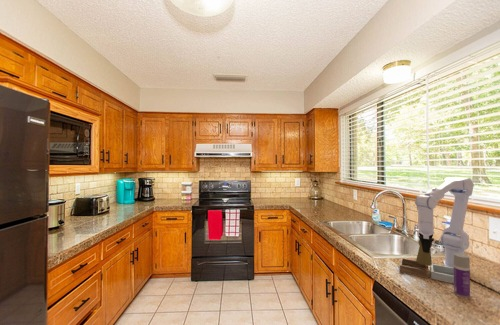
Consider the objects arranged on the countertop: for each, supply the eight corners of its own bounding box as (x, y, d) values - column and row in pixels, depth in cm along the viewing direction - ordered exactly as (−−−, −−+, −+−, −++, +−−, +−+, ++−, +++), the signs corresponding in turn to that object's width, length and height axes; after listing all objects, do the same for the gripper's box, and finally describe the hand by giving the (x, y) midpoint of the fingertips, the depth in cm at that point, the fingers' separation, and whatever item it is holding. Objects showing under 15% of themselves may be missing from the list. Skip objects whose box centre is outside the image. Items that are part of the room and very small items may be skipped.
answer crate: (430, 269, 115) (430, 263, 115) (460, 275, 109) (460, 269, 109) (431, 278, 106) (431, 271, 106) (464, 285, 100) (464, 278, 100)
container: (465, 298, 90) (465, 258, 90) (451, 292, 94) (450, 254, 95) (472, 296, 92) (472, 256, 92) (458, 290, 96) (457, 252, 96)
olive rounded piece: (417, 263, 111) (418, 240, 111) (415, 258, 116) (416, 236, 116) (433, 266, 108) (435, 242, 108) (430, 261, 114) (431, 238, 113)
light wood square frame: (400, 263, 122) (400, 257, 122) (427, 269, 116) (427, 262, 116) (399, 271, 113) (399, 265, 113) (428, 277, 107) (428, 271, 107)
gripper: (415, 217, 120) (415, 244, 120) (415, 223, 108) (415, 253, 108) (433, 219, 116) (433, 247, 116) (434, 225, 104) (435, 256, 104)
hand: (426, 250), depth 112 cm, fingers closed on olive rounded piece, 5 cm apart
